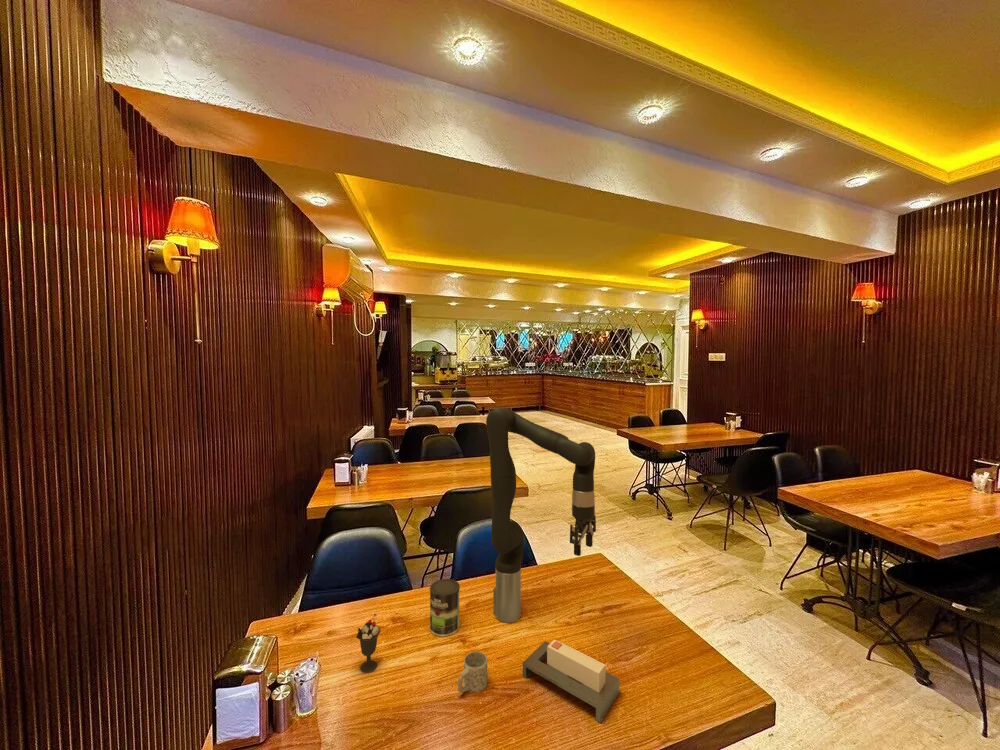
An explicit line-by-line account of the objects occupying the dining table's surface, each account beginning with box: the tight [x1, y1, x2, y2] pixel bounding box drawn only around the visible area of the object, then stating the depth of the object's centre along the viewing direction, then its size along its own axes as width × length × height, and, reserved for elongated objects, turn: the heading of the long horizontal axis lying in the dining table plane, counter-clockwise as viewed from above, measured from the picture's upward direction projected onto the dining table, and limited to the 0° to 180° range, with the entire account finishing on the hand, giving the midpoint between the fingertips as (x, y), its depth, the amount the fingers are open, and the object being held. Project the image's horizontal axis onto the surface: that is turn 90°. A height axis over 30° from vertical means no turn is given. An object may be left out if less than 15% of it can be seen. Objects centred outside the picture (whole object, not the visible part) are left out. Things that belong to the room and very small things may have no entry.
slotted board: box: [522, 640, 620, 723], centre depth 110 cm, size 24×12×4 cm, turn 51°
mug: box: [457, 650, 488, 694], centre depth 109 cm, size 10×7×7 cm
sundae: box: [356, 613, 381, 674], centre depth 117 cm, size 7×7×15 cm
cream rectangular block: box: [546, 638, 606, 692], centre depth 109 cm, size 16×4×8 cm, turn 51°
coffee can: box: [429, 578, 461, 638], centre depth 135 cm, size 10×10×14 cm
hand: (583, 550), depth 131 cm, fingers open, 8 cm apart
